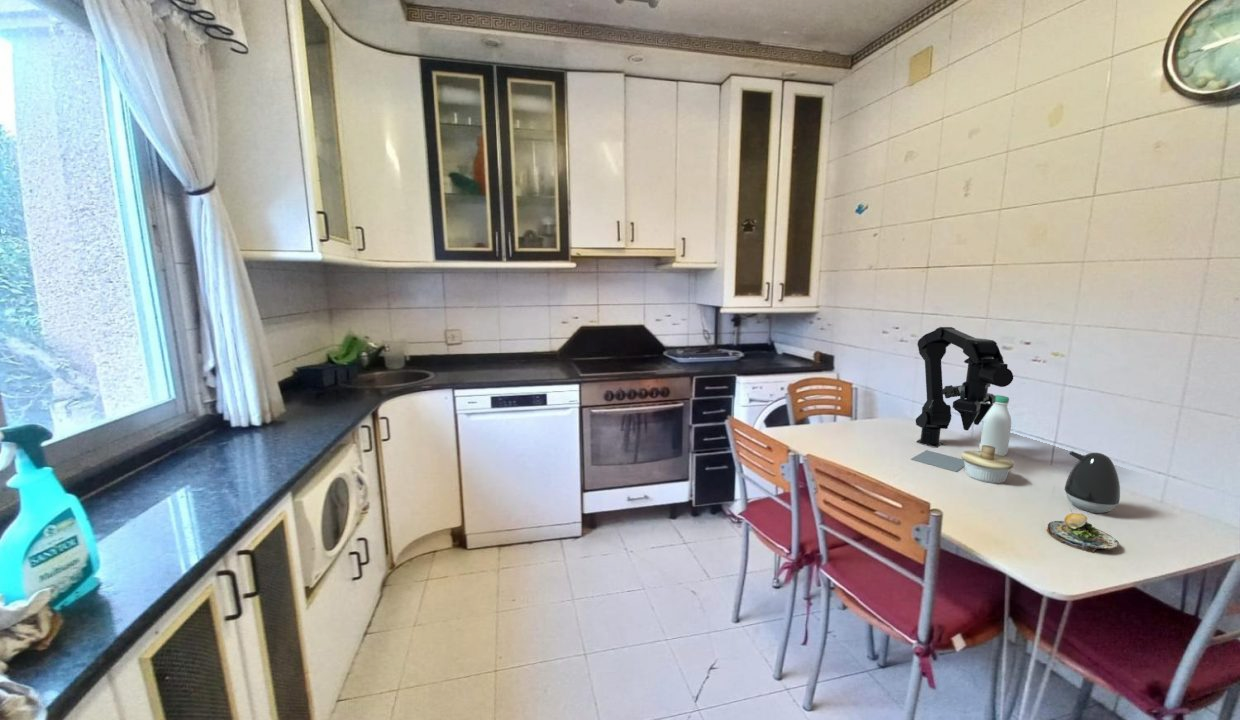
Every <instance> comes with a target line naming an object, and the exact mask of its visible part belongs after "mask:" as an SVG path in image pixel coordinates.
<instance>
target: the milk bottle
mask: <svg viewBox="0 0 1240 720" xmlns="http://www.w3.org/2000/svg"><path fill="white" fill-rule="evenodd" d="M993 395H994V394H993ZM994 396H995V397H996V399H995V403H993V406H992V407H991V408H990V410H989V411H988V412H987V414H986V415H985V416H984V418H983V419H982V425H981V431H980V437H979V445H978V446H979V447H978V451H981V449H982V445H988V446H993V447H995V454H998V455H1001V456H1004V457H1006V456H1007V454H1008V451H1009V444H1010V437H1011V430H1012V429H1011V428H1012V419H1011V418H1012V417H1011V414H1010V412H1009V410H1008V409H1009V408H1008V404H1009V402H1010V397H1009V396H1004V395H998V394H995V395H994Z"/></svg>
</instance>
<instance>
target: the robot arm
mask: <svg viewBox="0 0 1240 720" xmlns="http://www.w3.org/2000/svg"><path fill="white" fill-rule="evenodd" d="M951 344H952V345H954V346H956V347H957V348H960V349H962V353H963V354H964V355H965V356H967V357H968V358H967V359H965V360H964V361H963V363H964V364H967V370H966V379H965V381H963V382H962V384H961V385H954V386H953V385H945V386H944V387H943V371H942V359H943V357H944V356H945V355H946V352H947V347H948V346H950V345H951ZM916 346H917V348H918V354H919V355H920V357H921V358H922V359H923V360H924V369H925V388H926V389H925V390H926V401H925V402H924V404H923V406H922V408H921V413H920V414H919V415H918V417H916V418H915V425H916V426H917V427H920V428H921V431H920V433H921V434H920V438H918V439H917V440H916V443H918V444H922V445H926V446H930V447H934V448H937V447H939V446H940V445H943V444H944V443H943V441H940V437H941V431H942V429H943V430H945V429H946V430H947V429H948V427H949V425H950V423H951V421H952V417H953V416H952V413H951V411H952V409H954V410H955V411H957V412H958V413H959V414H960V418H961V421H962V428H963V430H964V431H969V430H970V428H971V427H972V425H976V426H978V425H980V423H981V422H982V421H983V418H984V416H985V415H986V414H987V412H988V411H989V410H990V408H991V407H992V406H993V403H995V399H996V397H995V396H994V394H993V393H990V392H988V391H989V388H990V387H991V385H992V386H996V387H999V388H1005V387H1007V386H1009V385H1010V384H1011V383H1012V382H1013V380H1014V374H1013V372H1012V370H1011V369H1010V368H1008V364H1007V363H1005V361H1004V357H1003V355H1002V354H1001V351H1000V348H999V346H998V343H997V342H996V341H995V340H993V339H988V338H978V337H974V336H971V335H969V334H967V333H964V332H962V331H960V330H958V329H956V328H955V327H953V326H939V327H937V328H936V329H935V330H933V331H931V332H928V333H925V334H924V335H923V336H921V337H920V338H919V339H918V340H917V345H916ZM955 397H959V398H958V399H956V400H954V401H952V408H951V405H950V404H947V403H946V401H945V400H944V398H945V399H950V398H955Z"/></svg>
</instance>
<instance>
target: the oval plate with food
mask: <svg viewBox="0 0 1240 720" xmlns="http://www.w3.org/2000/svg"><path fill="white" fill-rule="evenodd" d="M1069 508H1070V510H1072V508H1071V507H1069ZM1046 531H1047V534H1048V535H1049V536H1050V537H1052V538H1053V539H1055V540H1056V541H1058V542H1060V543H1061V544H1064V545H1066V546H1069V547H1070V548H1074V549H1077V550H1081V551H1086V552H1087V553H1094V552H1095V551H1096V550H1097V549H1100V550H1109V549H1114V548H1115V549H1116V548H1117V547H1118V546H1119V544H1120V543H1119V541H1118V540H1117V539H1116V538H1114V537H1113V536H1112V535H1111V534H1108V533H1106V532H1104V531H1103V530H1101V529H1098V528H1096V527H1093V524H1091V523H1089V522H1088V517H1087V516H1086V515H1084V514H1082V513H1078V512H1077V513H1075V512H1074V513H1073V512H1071V513H1069V514H1067V515H1066V516H1065V517H1064V520H1053V521H1050V522H1048V524H1047V529H1046Z"/></svg>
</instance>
